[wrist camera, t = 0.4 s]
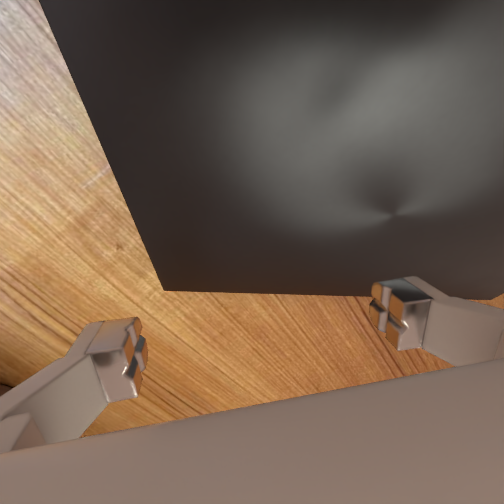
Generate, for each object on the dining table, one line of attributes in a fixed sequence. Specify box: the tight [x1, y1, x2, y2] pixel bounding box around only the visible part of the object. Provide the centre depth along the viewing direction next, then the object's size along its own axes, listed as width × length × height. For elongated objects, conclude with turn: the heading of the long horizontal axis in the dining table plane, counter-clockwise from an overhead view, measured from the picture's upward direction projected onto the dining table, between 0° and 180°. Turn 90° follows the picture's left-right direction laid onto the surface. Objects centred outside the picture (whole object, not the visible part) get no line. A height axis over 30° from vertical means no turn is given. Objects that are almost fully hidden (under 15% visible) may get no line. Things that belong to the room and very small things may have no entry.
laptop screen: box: [39, 0, 504, 300], centre depth 16 cm, size 22×30×1 cm
